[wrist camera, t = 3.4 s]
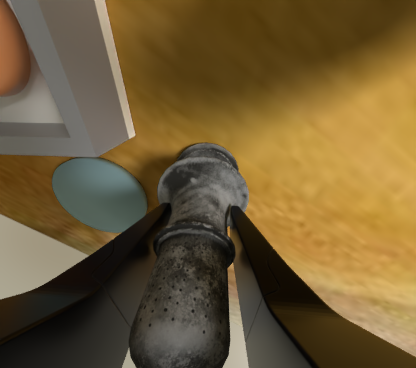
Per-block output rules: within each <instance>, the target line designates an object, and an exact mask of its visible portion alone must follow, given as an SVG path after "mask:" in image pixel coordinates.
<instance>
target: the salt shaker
mask: <svg viewBox="0 0 416 368" xmlns="http://www.w3.org/2000/svg"><path fill="white" fill-rule="evenodd" d="M157 195H158V200H159V203H160V204H162V203H163V202H169V203H171V208H172V215H171V217H170V220H169V222H168V225H167V226H166V227H164V228H162V229H161V230H160V231H159V232H158V233H157V234H156V236H155V239H154V241H153V250H154V252H155V254H156V257H157V259H156V262H155V264H154V267H153V270H152V273H151V275H150V278H149V281H148V283H147V286H146V289H145V291H144V294H143V297H142V299H141V302H140V305H139V308H138V310H137V313H136V316H135V318H134V321H133V324H132V326H131V331H130V336H129V341H128V342H129V348H130V356H131V359H132V361H133V362H134V364H135V366H136V368H222V367H223V365H224V363H225V361H226V359H227V357H228V355H229V346H230V322H229V297H228V272H227V268H228V267H229V266H230V265H231V264H232V263H233V261H234V259H235V256H236V252H235V245H234V243H233V241H232V239H231V238H230V237H229V236H228V233H227V227H228V226H230V210H231V206H232V205H236V206H239V207H240V208H241V210H242V211H243V212H245V211H246V208H247V205H248V202H249V191H248V188H247V185H246V182H245V180H244V178H243V177H242V176H241V174H240V173H239V172H238V166H237V163H236V160H235V158H234V157H233V156H232V154H231V153H230V152H229V151H227V150H226V149H225V148H223V147H221V146H219V145H217V144H212V143H199V144H195V145H193V146H190V147H188V148H187V149H186V150H184V151H183V152H182V153H181V155H180V156H179V157H178V159H177V162H175V163H174V164H172V165H171V166H170V167H168V168H167V169H166V171H165V172H164V173H163V175H162V176H161V178H160V180H159V184H158V187H157Z"/></svg>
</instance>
